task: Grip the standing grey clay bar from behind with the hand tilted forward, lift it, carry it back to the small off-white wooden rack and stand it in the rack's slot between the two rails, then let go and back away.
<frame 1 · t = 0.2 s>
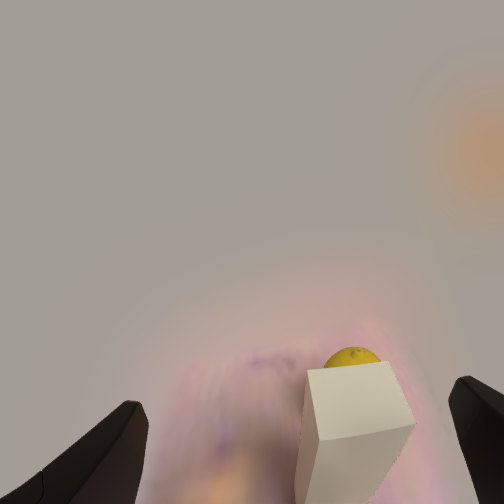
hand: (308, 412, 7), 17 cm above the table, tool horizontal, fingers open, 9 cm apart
clay bar: (323, 503, 17), on the table
lemon: (343, 417, 25), on the table
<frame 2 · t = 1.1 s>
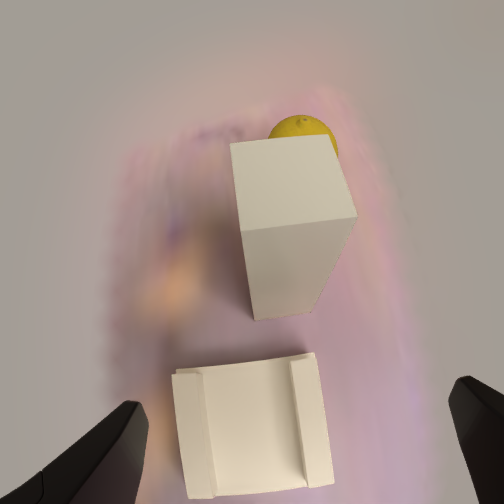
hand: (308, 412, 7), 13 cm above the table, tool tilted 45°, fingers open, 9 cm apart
rack: (254, 427, 19), on the table
clay bar: (278, 290, 23), on the table
lemon: (296, 191, 27), on the table
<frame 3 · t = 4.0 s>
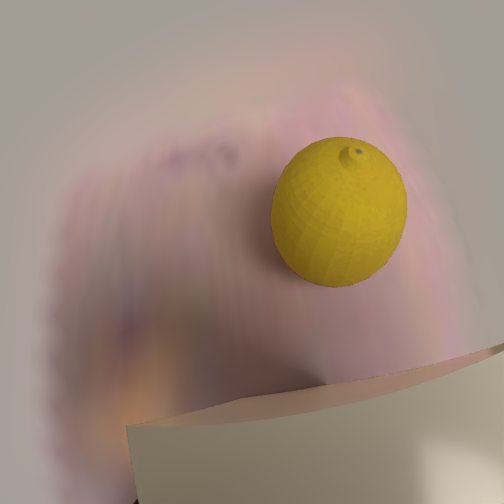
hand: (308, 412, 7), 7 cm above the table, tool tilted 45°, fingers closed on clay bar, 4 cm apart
clay bar: (291, 432, 13), on the table, touching gripper
lemon: (322, 257, 17), on the table
when the fingers open (9 cm above the table, at t = 7.1 s): clay bar stays where it is, resting on rack.
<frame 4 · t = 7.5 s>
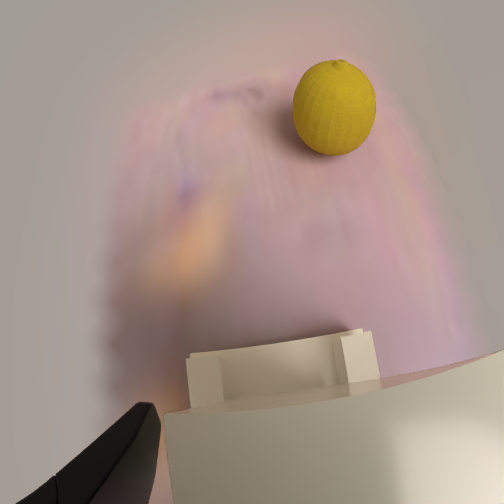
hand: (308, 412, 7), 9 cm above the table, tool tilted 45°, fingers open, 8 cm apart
rack: (287, 425, 15), on the table
clay bar: (290, 429, 14), point 1 cm above the table, touching rack
lemon: (325, 151, 23), on the table
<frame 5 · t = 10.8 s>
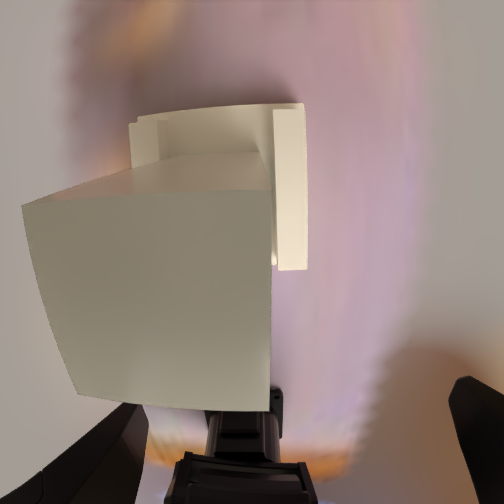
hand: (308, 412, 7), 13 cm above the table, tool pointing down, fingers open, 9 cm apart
rack: (225, 185, 18), on the table
clay bar: (223, 189, 17), point 1 cm above the table, touching rack
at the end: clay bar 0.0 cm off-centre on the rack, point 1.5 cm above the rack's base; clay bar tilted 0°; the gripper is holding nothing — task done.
